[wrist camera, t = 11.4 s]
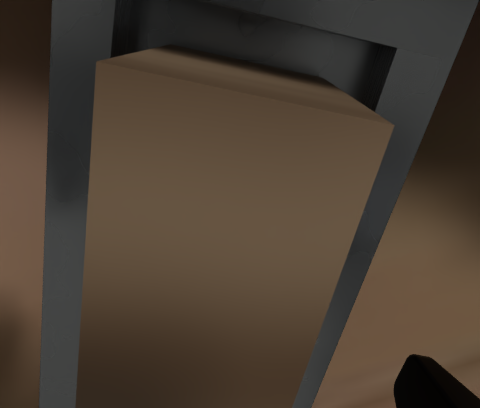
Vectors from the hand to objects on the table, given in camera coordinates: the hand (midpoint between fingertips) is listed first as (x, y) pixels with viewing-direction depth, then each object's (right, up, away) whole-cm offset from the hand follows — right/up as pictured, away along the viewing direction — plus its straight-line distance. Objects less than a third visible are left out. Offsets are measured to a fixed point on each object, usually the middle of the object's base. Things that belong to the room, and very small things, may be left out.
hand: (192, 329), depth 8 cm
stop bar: (0, +1, +3) cm, 4 cm away
